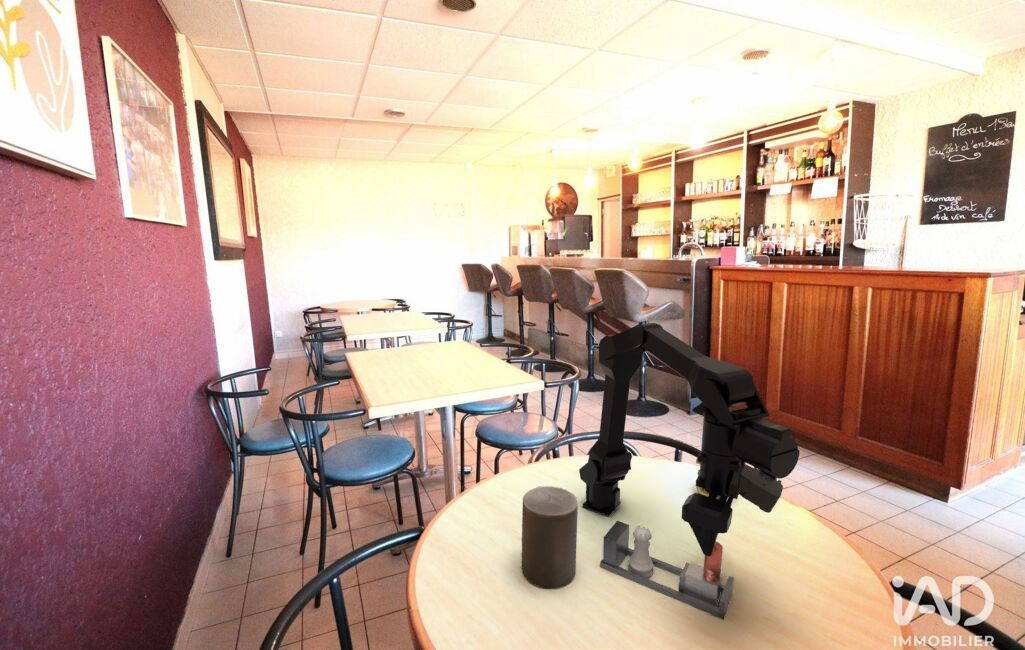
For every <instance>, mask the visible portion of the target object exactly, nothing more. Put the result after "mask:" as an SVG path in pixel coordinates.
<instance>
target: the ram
mask: <svg viewBox="0 0 1025 650" xmlns="http://www.w3.org/2000/svg"><path fill="white" fill-rule="evenodd" d="M723 549H724V547H723V545H722V543H719V542H718V541H716V542H715V545H714V549H713V552H712V555H711V556H710V557H709V556H706V555H704V554H703V555H704V556H703V557H704V558H703V565H700V564H698V563H695V562H692V561H690V562H685V563H684V567H683V568H682V569H683V570H682V572H681V574H680V576H679V577H678V578H679V579H678V591H679V592H681V593H683V594H686V595H688V596H691V597H693V598H695V599H698V600H700V601H703V602H705V603H707V604H710V605H712V606H715V607H717V606H718V603H719V602H720V598H721V595H722V593H721V586H722V584H723V573H722V562H723V561H722V560H723ZM717 608H718V607H717Z"/></svg>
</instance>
